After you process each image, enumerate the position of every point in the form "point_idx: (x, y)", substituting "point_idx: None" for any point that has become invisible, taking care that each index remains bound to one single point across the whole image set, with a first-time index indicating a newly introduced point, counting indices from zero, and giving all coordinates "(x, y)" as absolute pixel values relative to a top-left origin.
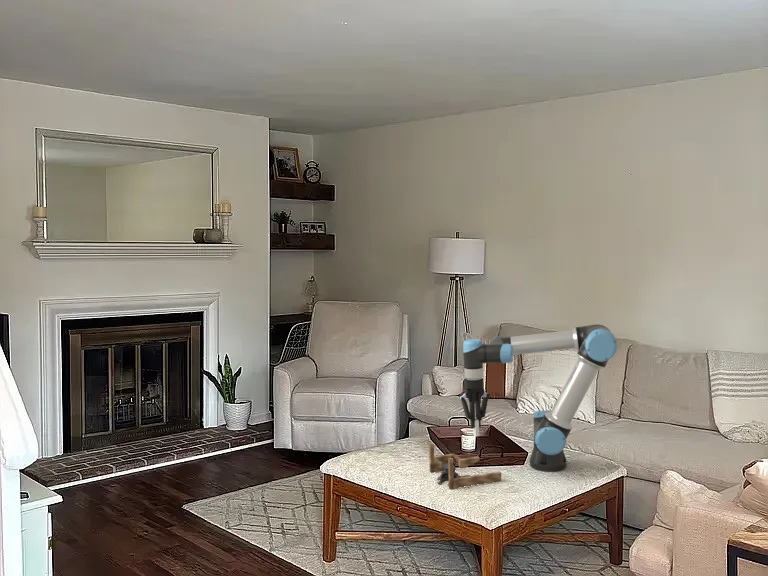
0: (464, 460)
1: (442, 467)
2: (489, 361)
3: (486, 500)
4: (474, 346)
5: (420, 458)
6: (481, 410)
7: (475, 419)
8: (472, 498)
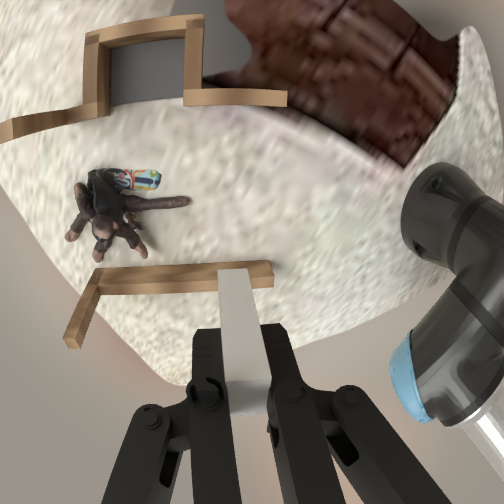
0: (207, 104)
1: (122, 81)
2: None
3: (173, 353)
4: None
5: None
6: (363, 451)
7: (248, 398)
8: (144, 338)
